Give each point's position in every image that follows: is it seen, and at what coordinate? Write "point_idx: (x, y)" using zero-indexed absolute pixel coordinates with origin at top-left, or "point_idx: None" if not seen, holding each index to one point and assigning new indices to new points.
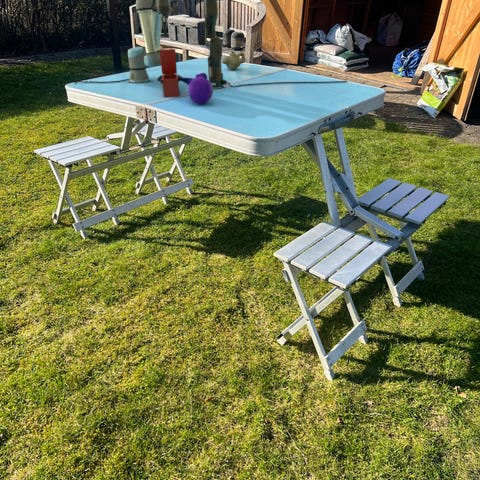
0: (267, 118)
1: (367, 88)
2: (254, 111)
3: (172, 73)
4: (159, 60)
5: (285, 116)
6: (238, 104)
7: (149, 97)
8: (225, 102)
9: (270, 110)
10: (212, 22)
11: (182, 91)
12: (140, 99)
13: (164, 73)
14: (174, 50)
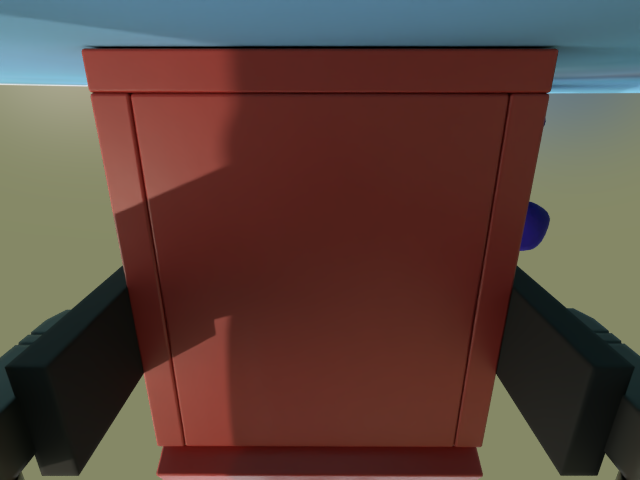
0: (551, 92)
1: None
2: (577, 91)
3: (380, 448)
4: None
5: (605, 92)
6: (613, 89)
7: (76, 79)
8: (594, 88)
9: (630, 91)
10: None
11: (597, 58)
12: (33, 81)
13: (217, 450)
14: None
